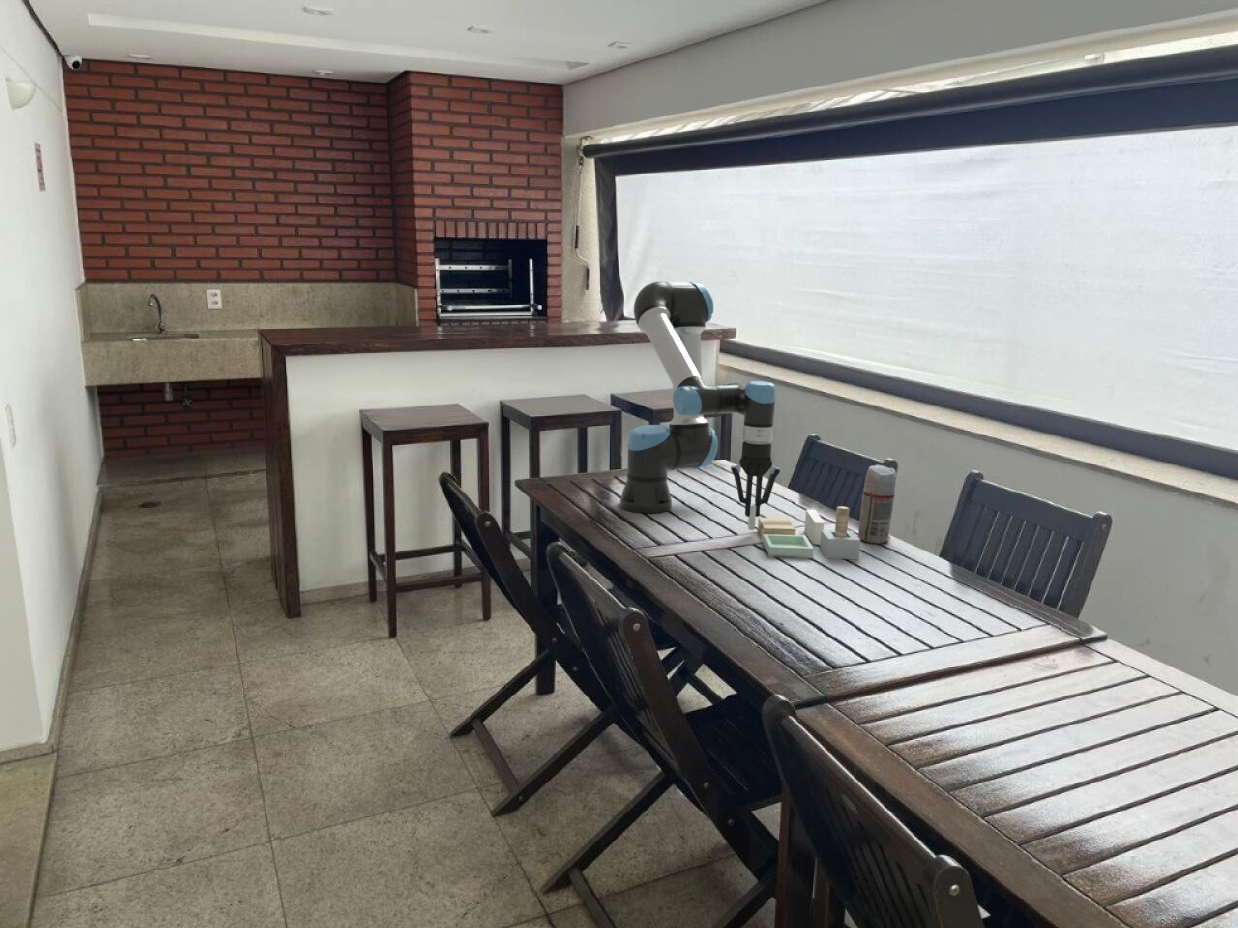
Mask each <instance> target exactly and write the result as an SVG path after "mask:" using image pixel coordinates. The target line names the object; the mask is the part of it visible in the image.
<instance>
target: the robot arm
mask: <svg viewBox="0 0 1238 928" xmlns="http://www.w3.org/2000/svg"><path fill="white" fill-rule="evenodd" d="M713 313H714V300H713V297H712V294H711V292H710V290H709V289H708V287H706V285H704V284H702V283H700V282H694V281H655V282H651V283H648V284H647V285H645V286H644V287H643V288H642V289H640V290H639V292H638V294H637V295H636V298H635V301H634V304H633V316H634V319H635V323H636V324H637V326H638V328H639V330H640V331H641V332H642V333H644V334H646V336H647V337H648V341H650V343H651V345H652V347H653V349H654V351H655V353H656V355H657V357H658V358H659V359H658V360H660V362H661V365H662V366H663V368H664V369H665V373H666V374H667V376H668V378H669V379H670V381H671V384H672V395H673V396H672V404H673V418H672V419H671V420H670V422H669V423H668V426H666V425H664V424H663V425H662V424H647V425H642V426H638V427H636V428H635V427H634V428H633V429H632V430H631V431H630V432H629V434H628V442H627V463H626V465H627V466H626V480H625V484H624V486H623V490H622V492H621V495H620V498H619V507H620V508H621V509H623V510H627V511H628V512H633V513H640V514H659V513H665V512H668V511H670V510H672V508H673V507H672V505H673V499H672V495H671V492H670V487H669V484H668V471H672V470H673V471H674V470H676V471H677V470H686V469H694V470H695V469H698V468H699V469H700V468H705V467H707V466H709V465H710V464H712V462H713V461H714V460H715V457H716V455H717V452H718V436H717V435H716V432H715V430H714V429H713V428H711V427H709V426H710V425H709V424H710V423H709V420H707V419H706V418H705V417H704V415H714V414H715V415H716V414H718V415H719V414H720V415H721V414H722V415H723V414H739V415H743V416H744V417H743V428H742V439H743V441H742V443H741V444H742V445H741V446H742V447H741V457H740V459H739V461H738V463H737V464H735V465H731V466H730V470H731V472H732V473H733V475H734V480H735V481H734V482H735V485H736V492H737V497H738V501H739V503H742V504H744V505H745V507H744V515H745V517H747V518H748V521H747V528H748V530H749V531H755V529H756V518H760V515H761V506H762V505H763V504H764V505H766V504H768V502H769V499H770V497H771V493H772V489H773V487H774V483H775V481H776V478H777V477H778V475H779V474H780V473H781V470H780V468H779V467H778V466H775V465H774V464H773V462H772V458H771V457H772V443H771V441H772V440H773V427H774V426H773V425H774V414H775V404H776V396H775V395H776V386H775V385H774V383H772V382H769V381H763V380H762V381H761V380H752V381H748V382H747V383H746V385H743V384H741V383H738V382H725V383H723V384H718V385H717V384H716V385H706V384H705V381H704V380H703V370H702V369H703V368H702V340H701V339H702V338H701V337H702V336H701V335H702V333H703V332H704V331H706V330H705V329H706V328H707V327H706V323H708V322H709V321H711V319H712V316H713ZM741 469H742V470H743V472H744V473H745V475H746V483H745V486H746V487H745V495H744V492H743V487H742V480H741V475H740V472H741ZM768 471H769V476H768V479H767V482H766V484H765V488H764V491H763V478H764V476H765V475H766V474H767V473H768ZM754 477H756V478H755V479H756V483H755V484H756V485H755V498H754V502H753V503H752V492H753V481H754ZM762 491H763V494H762Z"/></svg>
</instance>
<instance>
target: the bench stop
mask: <svg viewBox="0 0 1238 928" xmlns="http://www.w3.org/2000/svg"><path fill="white" fill-rule="evenodd" d="M822 530H825V521H824V520H823V519H822V517H821V515H819V512H817V510H816V509H805V519H804V533H805V534H806V537H807V538H808V540H809V542H810V543H811V545H818V546H820V543H821V531H822Z"/></svg>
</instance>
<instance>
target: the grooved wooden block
mask: <svg viewBox="0 0 1238 928" xmlns="http://www.w3.org/2000/svg"><path fill="white" fill-rule="evenodd" d="M757 521H758V523H757V531H758V533H759V535H760V537H761V539H762V540H763V534H777V535H796V528H795V525H794V524H793V523H792V522H791V520H790V519H789V518H788V517H787V518H786V517H784V518H783V517H781V518H779V517H758V520H757Z"/></svg>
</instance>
